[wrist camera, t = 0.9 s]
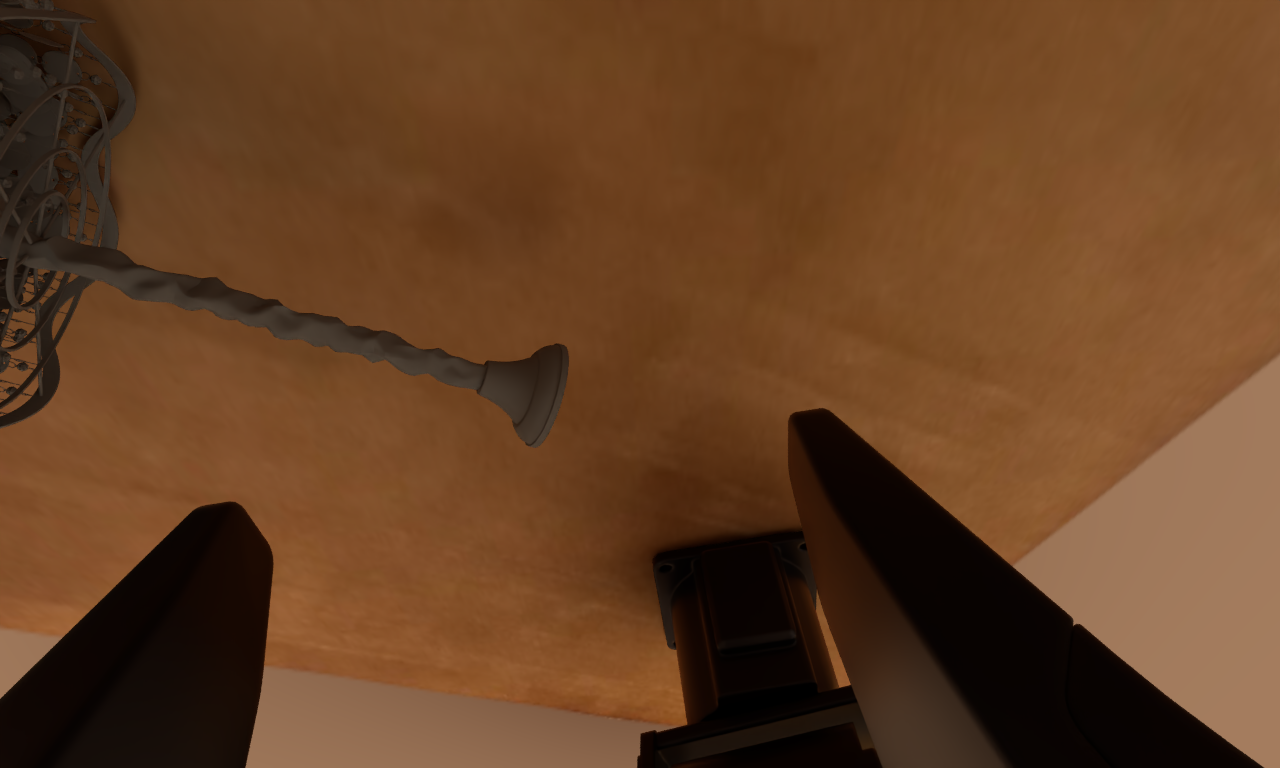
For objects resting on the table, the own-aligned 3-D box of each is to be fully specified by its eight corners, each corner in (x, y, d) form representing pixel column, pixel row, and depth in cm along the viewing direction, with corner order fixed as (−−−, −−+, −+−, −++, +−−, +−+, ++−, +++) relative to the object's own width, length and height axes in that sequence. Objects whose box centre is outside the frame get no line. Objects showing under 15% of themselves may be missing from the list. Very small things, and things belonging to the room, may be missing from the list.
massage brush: (491, 401, 25) (474, 674, 18) (-467, 137, 17) (-1146, 433, 10) (614, 143, 20) (657, 384, 13) (-671, -396, 12) (-2303, -527, 5)
